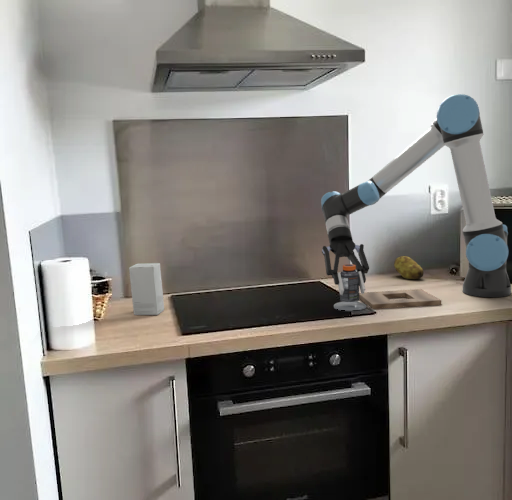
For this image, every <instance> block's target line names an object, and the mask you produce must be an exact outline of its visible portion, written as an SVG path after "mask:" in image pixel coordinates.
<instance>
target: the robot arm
mask: <svg viewBox="0 0 512 500" xmlns="http://www.w3.org/2000/svg"><path fill="white" fill-rule="evenodd" d="M478 105H479V104H478V103H477V101H476V100H475V99H474V98H473V97H471V96H470V95H469V94H464V93H457V94H453V95H450V96H448V97H446V98H445V99H444V100H442V102H441V103H440V105H439V107H438V108H437V110H436V118H435V119H434V120H433V121H432V122H431V124H430V127H429V128H428V130H426V131H424V133H423V134H421V135H420V136H419V137H418V138H417V139H416V140H414V141H413V142H412V143H411V144H409V145H408V146H407V147H406V148H404V150H402V151H401V152H400V153H399V154H398V155H396V156H395V157H394V158H393V159H392V160H391V161H389V163H387V164H385V166H384V167H383V168H381V169H380V170H379V171H378V172H376V174H374V175H373V176H372V177H371V178H369V179H368V180H367V181H365V182H362V183H359V184H358V185H356V186H354V187H353V188H350V189H349V190H347V191H345V192H343V193H341V192H338V191H334V190H333V191H329V192H326V193H325V194H324V195H322V196H321V199H320V204H321V212H322V214H323V218H324V219H323V220H324V225H325V227H326V234H327V238H328V241H329V246H326V245H323V246H322V249H321V253H322V255H323V256H324V257H323V258H324V263H325V264H324V265H325V274H326V276H331V277H332V278H333V282H334V285H335V286H338V291H339V296H340V295H343V292H344V288H343V283H342V279H341V274H340V273H341V271H340V272H338V270H339V263H340V258H343V257H345V258H347V259H348V260H349V261H350V262H351V264H354V265H356V271H357V272H358V273H359V292H360V293H361V294H364V292H365V291H366V286H365V283H366V282H367V278H366V274H368V273H369V270H370V265H369V262H368V261H367V259H368V258H367V256H366V253H365V250H364V249H365V248H364V246H365V245H364V244H362V243H361V244H360V245H358V244H356V243H354V241H353V240H354V239H353V235H352V233H351V229H350V228H351V227H350V224H349V220H348V216H349V215H352V214H353V213H355V212H358V211H360V210H362V209H364V208H367V207H369V206H372V205H375V204H377V203H378V202H379V201H380V199H382V198H383V197H384V196H385V195H386V194H387V193H389V192H390V191H391V190H392V189H393V188H395V187H396V186H397V185H399V184H400V183H401V182H402V181H403V180H404V179H405V178H406V177H409V175H410V174H412V173H413V172H414V171H415V170H417V169H418V168H419V167H420V166H422V164H424V163H425V162H426V161H428V160H429V159H430V158H431V157H432V156H434V155H435V154H436V153H437V152H439V151H440V150H441V149H442V148H444V146H446V147H447V148H449V149H450V155H451V158H452V163H453V169H454V173H455V177H456V182H457V187H458V191H459V196H460V202H461V206H462V211H463V215H464V219H465V226H464V227H463V228H462V235H463V238H464V245H465V257H466V259H467V261H468V268H467V272H466V275H465V278H464V280H463V283H462V292H463V293H464V294H466V295H468V296H474V297H480V298H502V297H503V298H504V297H507V296H510V295H512V285H511V282H510V278H509V275H508V272H507V260H508V258H509V251H510V250H509V246H508V235H509V232H508V226H507V225H506V224H503V222H502V221H500V220H499V219H497V217H496V214H495V208H494V203H493V199H492V193H491V190H490V189H491V188H490V184H489V181H488V180H489V179H488V175H487V169H486V165H485V161H484V157H483V151H482V148H481V139H483V136H484V129H483V125H482V124H483V123H482V120H481V115H480V107H479V106H478ZM354 250H356V251H355V252H356V253H358V257H357V256H356V254H355V252H354ZM330 252H332V253H333V254H334V264H333V268H332V264H331V263H332V262H331V258H330ZM358 258H359V259H358Z"/></svg>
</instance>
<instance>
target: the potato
mask: <svg viewBox="0 0 512 500" xmlns="http://www.w3.org/2000/svg"><path fill="white" fill-rule="evenodd" d="M393 266H394V269H395V271H396V273H399V274H400V275H401V277H402V278H404V279H407V280H419V279H422V278H423V277H424V274H425V273H424V269H423V267H421V265H420V264H418V263H417V261H415V260H414V259H413V258H411V257H409V256H406V255H401V256H398V257H397V258H395V260H394V262H393Z"/></svg>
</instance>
